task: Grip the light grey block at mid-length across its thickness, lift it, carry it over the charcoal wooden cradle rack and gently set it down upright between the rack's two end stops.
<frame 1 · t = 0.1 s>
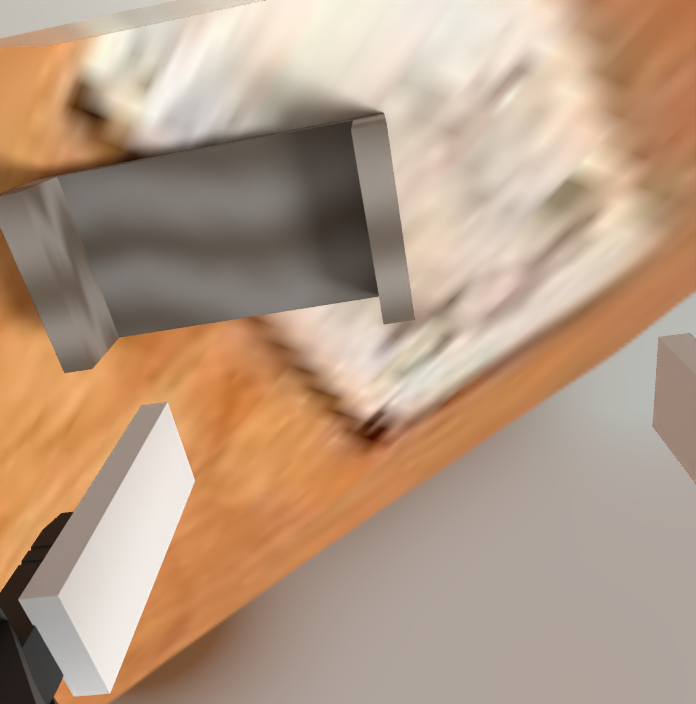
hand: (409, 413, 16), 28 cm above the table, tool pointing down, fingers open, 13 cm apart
cradle rack: (229, 233, 43), on the table
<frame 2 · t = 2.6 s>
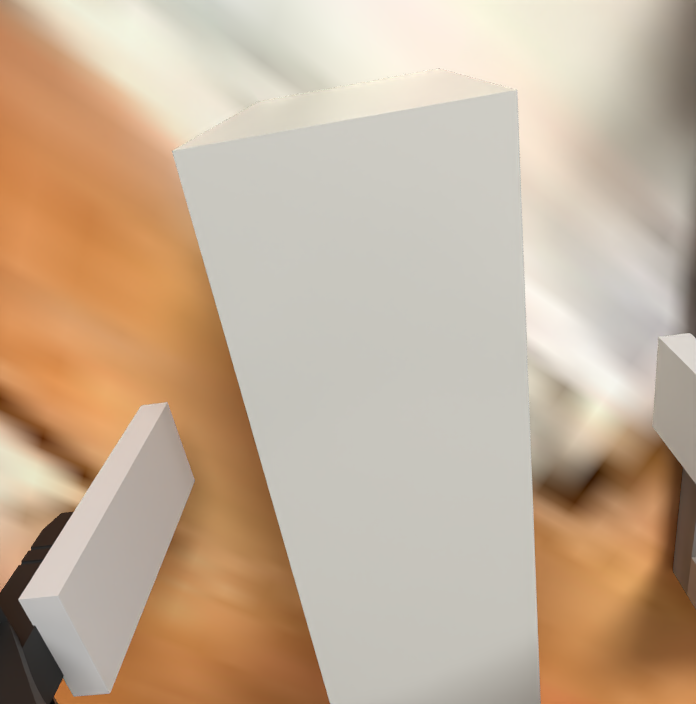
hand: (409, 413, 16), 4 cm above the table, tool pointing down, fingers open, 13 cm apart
light grey block: (387, 342, 20), on the table
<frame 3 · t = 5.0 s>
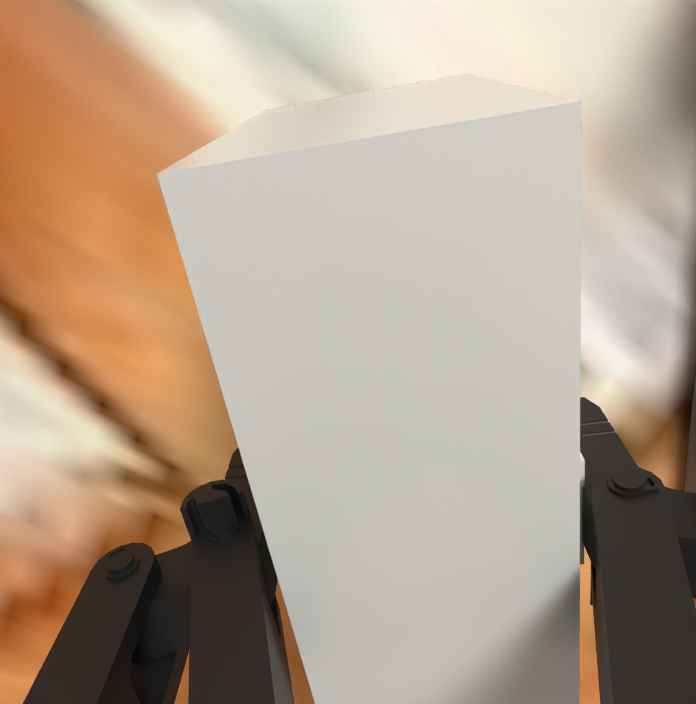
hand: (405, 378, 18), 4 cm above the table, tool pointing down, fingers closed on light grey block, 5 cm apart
light grey block: (404, 370, 19), point 4 cm above the table, touching gripper
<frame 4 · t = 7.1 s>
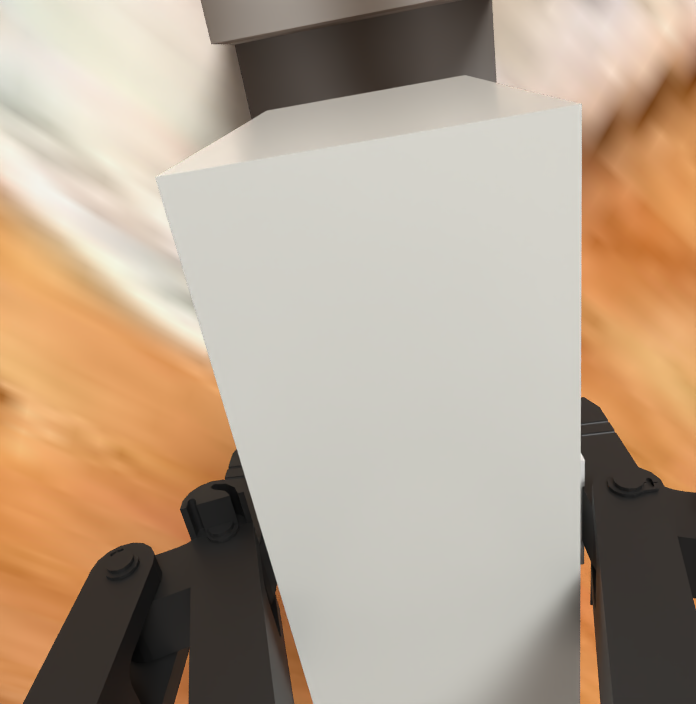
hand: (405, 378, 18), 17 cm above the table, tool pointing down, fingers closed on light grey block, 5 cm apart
cradle rack: (389, 224, 33), on the table
light grey block: (404, 372, 19), point 17 cm above the table, touching gripper
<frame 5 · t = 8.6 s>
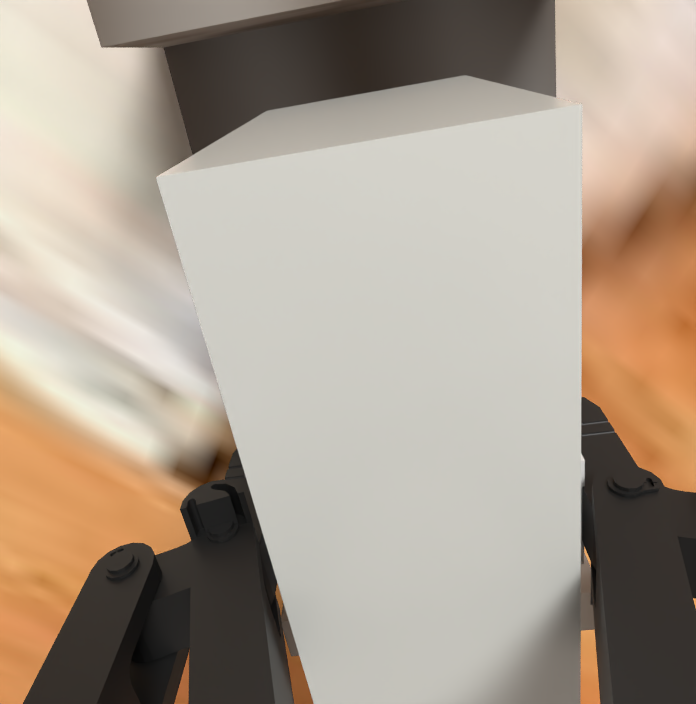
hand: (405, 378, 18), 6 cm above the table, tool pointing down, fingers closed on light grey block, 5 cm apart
cradle rack: (394, 299, 24), on the table
light grey block: (404, 372, 19), point 6 cm above the table, touching gripper
when the fingers open (2 cm above the table, at t = 9.6 s): light grey block stays where it is, resting on cradle rack.
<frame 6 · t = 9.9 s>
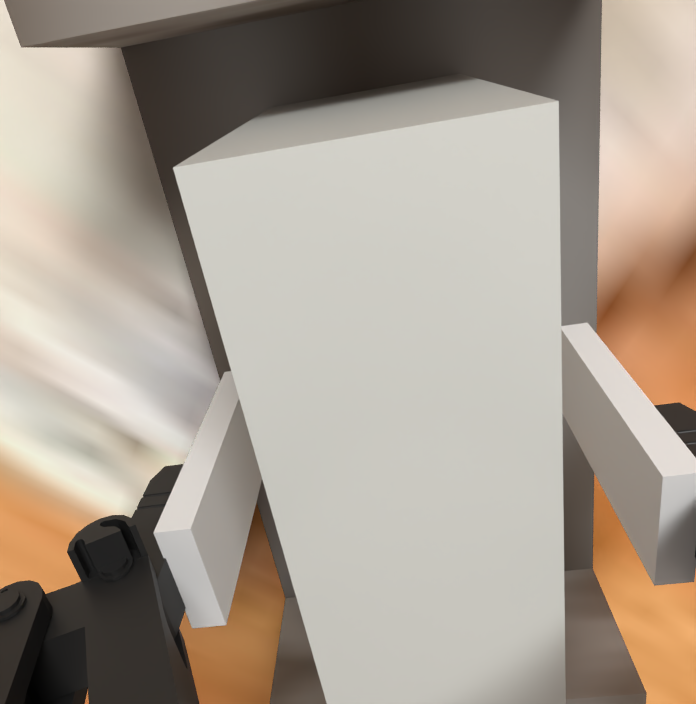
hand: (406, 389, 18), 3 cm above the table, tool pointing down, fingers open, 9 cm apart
cradle rack: (401, 342, 20), on the table
light grey block: (402, 359, 19), point 1 cm above the table, touching cradle rack
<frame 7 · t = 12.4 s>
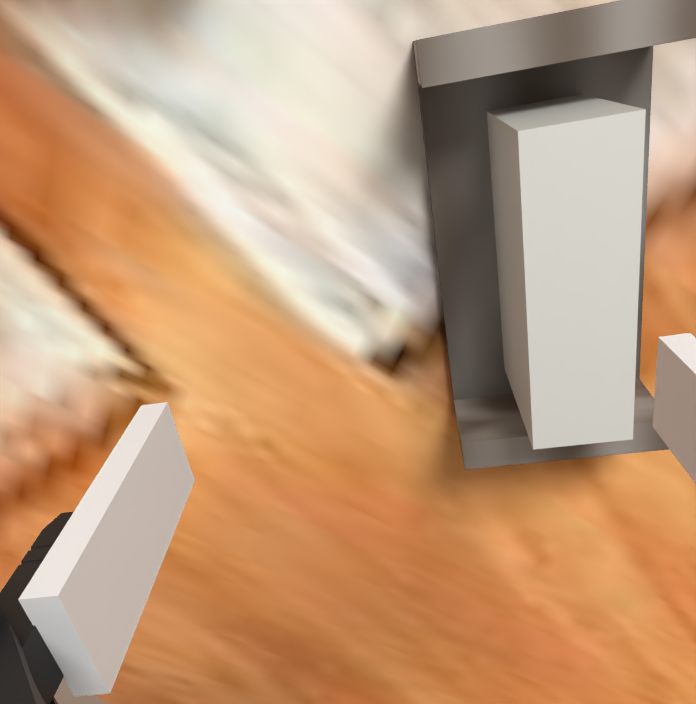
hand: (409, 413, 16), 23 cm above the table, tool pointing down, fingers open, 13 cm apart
cradle rack: (535, 239, 37), on the table
light grey block: (539, 245, 36), point 1 cm above the table, touching cradle rack
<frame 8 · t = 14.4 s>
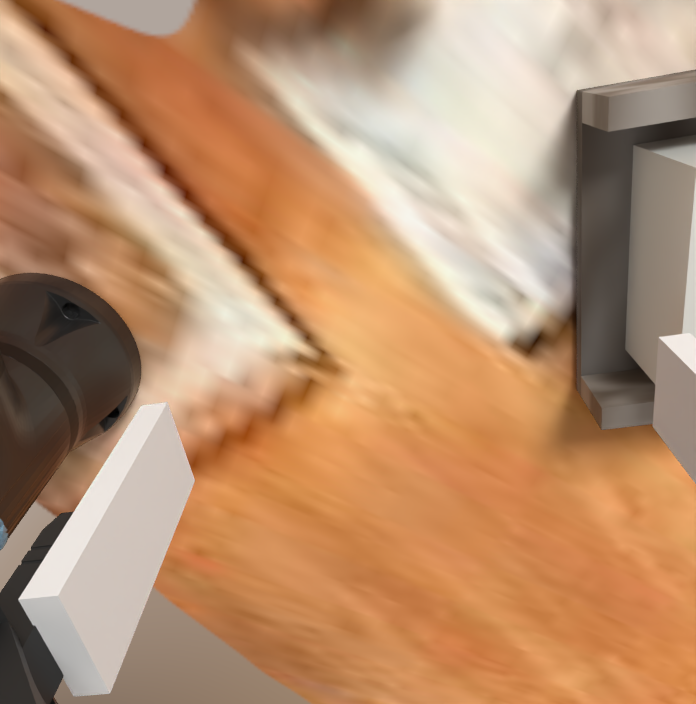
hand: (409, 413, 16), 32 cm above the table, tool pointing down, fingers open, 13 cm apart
cradle rack: (657, 244, 46), on the table
light grey block: (663, 249, 45), point 1 cm above the table, touching cradle rack
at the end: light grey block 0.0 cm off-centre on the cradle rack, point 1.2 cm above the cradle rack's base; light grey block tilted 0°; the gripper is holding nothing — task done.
